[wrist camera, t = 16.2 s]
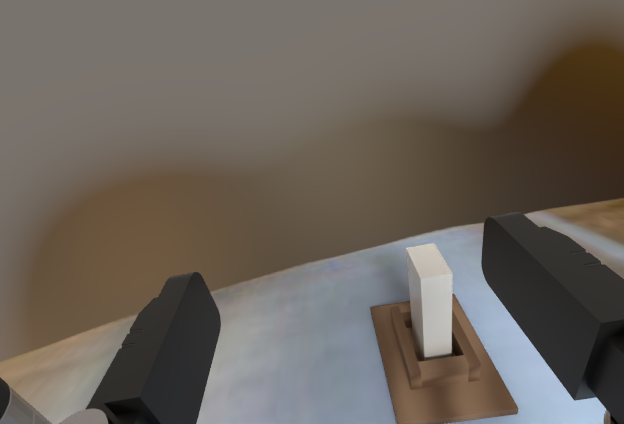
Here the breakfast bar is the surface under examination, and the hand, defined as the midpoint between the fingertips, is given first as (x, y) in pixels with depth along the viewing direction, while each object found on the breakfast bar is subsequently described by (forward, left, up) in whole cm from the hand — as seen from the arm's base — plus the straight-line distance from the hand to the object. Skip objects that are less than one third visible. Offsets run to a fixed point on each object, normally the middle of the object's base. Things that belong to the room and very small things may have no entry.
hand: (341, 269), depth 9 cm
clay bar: (+8, +19, -31) cm, 37 cm away
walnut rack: (+8, +19, -32) cm, 38 cm away
